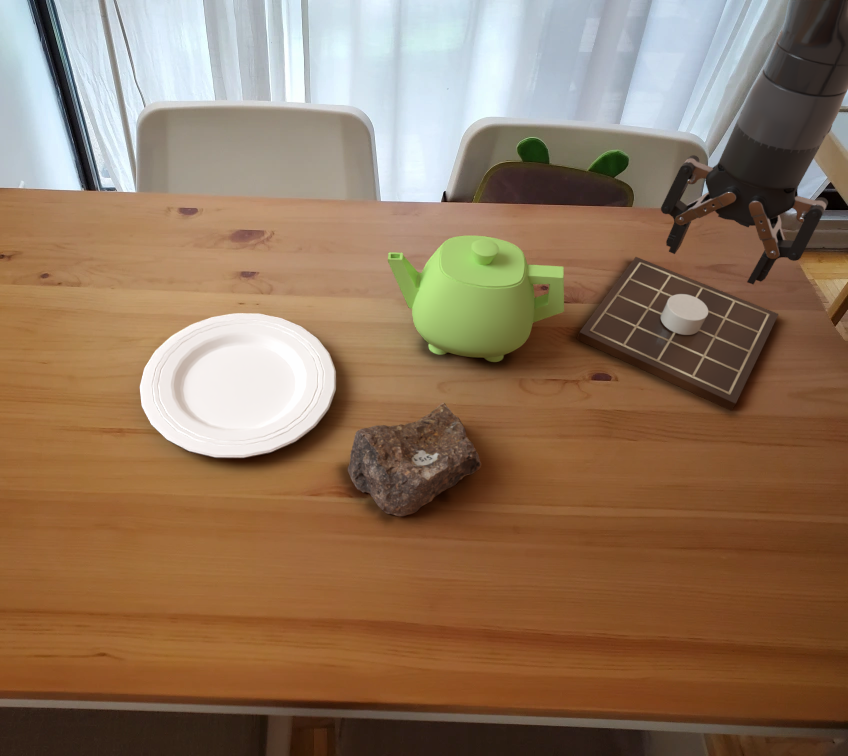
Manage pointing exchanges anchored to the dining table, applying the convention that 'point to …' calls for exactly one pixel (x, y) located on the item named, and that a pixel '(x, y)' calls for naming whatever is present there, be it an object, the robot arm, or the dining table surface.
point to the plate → (238, 385)
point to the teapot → (477, 296)
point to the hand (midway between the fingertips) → (712, 264)
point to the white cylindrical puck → (684, 314)
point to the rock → (412, 460)
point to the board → (675, 353)
